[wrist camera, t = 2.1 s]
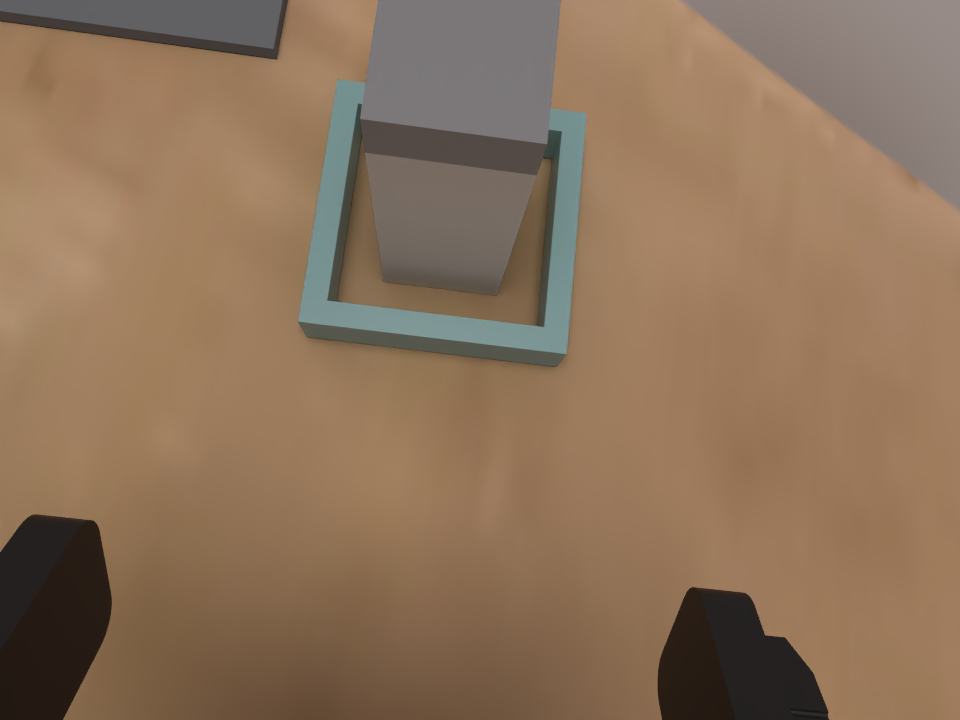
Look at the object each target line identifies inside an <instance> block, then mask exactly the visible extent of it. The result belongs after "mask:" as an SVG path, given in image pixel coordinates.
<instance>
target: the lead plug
mask: <svg viewBox="0 0 960 720" xmlns="http://www.w3.org/2000/svg"><path fill="white" fill-rule="evenodd" d="M560 3H561V0H378V5H377V12H376V18H375V25H374V31H373V38H372V44H371V51H370V57H369V64H368V70H367V77H366V83H365V90H364V96H363V103H362V109H361V116H360V122H361V129H362V136H363V143H364V150H365V157H366V164H367V171H368V178H369V185H370V192H371V199H372V206H373V213H374V220H375V227H376V234H377V241H378V248H379V255H380V262H381V269H382V276H383V282H390V283H398V284H406V285H414V286H422V287H430V288H438V289H446V290H454V291H462V292H470V293H478V294H486V295H494V296H497V294H498V291H499V288H500V285H501V282H502V279H503V276H504V273H505V270H506V267H507V264H508V261H509V258H510V255H511V251H512V248H513V245H514V242H515V239H516V236H517V233H518V230H519V227H520V224H521V221H522V218H523V215H524V212H525V209H526V206H527V203H528V200H529V197H530V194H531V191H532V188H533V185H534V182H535V179H536V176H537V173H538V170H539V167H540V164H541V161H542V158H543V155H544V152H545V149H546V146H547V141H548V130H549V120H550V109H551V98H552V88H553V77H554V67H555V56H556V45H557V35H558V24H559V13H560Z"/></svg>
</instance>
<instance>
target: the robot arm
mask: <svg viewBox="0 0 960 720" xmlns="http://www.w3.org/2000/svg"><path fill="white" fill-rule="evenodd" d="M111 606H112V598H111V591H110V585H109V580H108V574H107V569H106V564H105V558H104V553H103V547H102V542H101V536H100V531H99V528H98V525H97V524H96V523H95V522H94V521H92V520H83V519H74V518H65V517H56V516H46V515H31V516H30V517H28V518H27V519H26V520H25V521H23V523H22V524H21V525H20V526H19V528H18V529H17V530H16V532H15V533H14V534H13V536H12V537H11V539H10V540H9V541H8V543H7V544H6V545H5V547H4V548H3V550H2V551H1V552H0V720H63V718H64V716H65V714H66V712H67V710H68V709H69V707H70V705H71V703H72V701H73V699H74V697H75V695H76V693H77V691H78V689H79V687H80V685H81V683H82V681H83V679H84V677H85V676H86V674H87V672H88V670H89V668H90V666H91V664H92V662H93V660H94V658H95V656H96V654H97V652H98V650H99V648H100V646H101V644H102V642H103V640H104V637H105V634H106V631H107V628H108V624H109V620H110V615H111ZM658 698H659V705H660V710H661V715H662V720H829V719H828V710H827V707H826V705H825V702H824V700H823V697H822V694H821V692H820V689H819V687H818V684H817V682H816V679H815V676H814V674H813V672H812V671H811V670H810V668H809V667H808V666H807V665H806V663H805V662H804V661H803V660H802V658H801V657H800V656H799V655H798V653H797V652H796V651H795V650H794V648H793V647H792V646H791V645H790V643H789V642H788V641H787V640H786V638H784V637H774V636H765V634H764V631H763V628H762V625H761V623H760V620H759V617H758V614H757V611H756V608H755V605H754V603H753V601H752V599H751V598H750V596H749V595H748V594H746V593H741V592H732V591H723V590H714V589H704V588H695V587H692V588H690V589H689V590H688V591H687V593H686V595H685V597H684V599H683V602H682V604H681V607H680V609H679V612H678V614H677V617H676V619H675V622H674V624H673V627H672V629H671V632H670V634H669V637H668V639H667V642H666V644H665V647H664V649H663V652H662V655H661V658H660V662H659V669H658Z"/></svg>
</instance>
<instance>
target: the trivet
mask: <svg viewBox="0 0 960 720" xmlns="http://www.w3.org/2000/svg"><path fill="white" fill-rule="evenodd" d="M286 4H287V0H0V21H7V22H14V23H21V24H28V25H36V26H43V27H50V28H57V29H65V30H72V31H79V32H86V33H93V34H101V35H108V36H115V37H122V38H130V39H137V40H144V41H151V42H159V43H166V44H173V45H180V46H187V47H195V48H202V49H209V50H216V51H224V52H231V53H238V54H245V55H252V56H260V57H267V58H274V59H277V53H278V48H279V42H280V37H281V32H282V26H283V21H284V15H285V10H286Z"/></svg>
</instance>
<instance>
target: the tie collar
mask: <svg viewBox="0 0 960 720" xmlns="http://www.w3.org/2000/svg"><path fill="white" fill-rule="evenodd" d="M364 90H365V83H362V82H354V81H347V80H340V79H338V80H337V86H336V92H335V98H334V104H333V111H332V117H331V123H330V129H329V135H328V141H327V147H326V153H325V159H324V166H323V172H322V178H321V184H320V190H319V196H318V202H317V208H316V215H315V221H314V227H313V233H312V239H311V245H310V251H309V257H308V264H307V270H306V276H305V282H304V288H303V294H302V300H301V306H300V312H299V319H298V322H299V324H300V326H301V328H302V329H303V331H304V333H305V335H306V336H307V337H311V338H319V339H328V340H336V341H344V342H353V343H361V344H369V345H378V346H386V347H394V348H403V349H411V350H419V351H428V352H436V353H444V354H453V355H461V356H469V357H478V358H486V359H494V360H503V361H511V362H519V363H528V364H536V365H544V366H553V367H556V366H557V365H558V364H559V363H560V362H561V360H562V359H563V358H564V357H565V356H566V354H567V344H568V332H569V320H570V308H571V296H572V284H573V272H574V260H575V247H576V235H577V223H578V211H579V199H580V187H581V175H582V163H583V151H584V138H585V126H586V114H587V113H580V112H572V111H565V110H558V109H550V120H549V130H548V141H547V146H546V149H545V152H544V155H543V157H545V158H552V165H551V176H550V187H549V198H548V209H547V219H546V230H545V241H544V252H543V263H542V274H541V284H540V295H539V306H538V317H537V326H530V325H522V324H514V323H506V322H498V321H490V320H482V319H473V318H465V317H457V316H449V315H441V314H433V313H424V312H416V311H408V310H400V309H392V308H384V307H376V306H367V305H359V304H351V303H343V302H336V300H337V294H338V287H339V281H340V274H341V268H342V261H343V254H344V248H345V241H346V235H347V228H348V222H349V215H350V209H351V202H352V196H353V189H354V183H355V176H356V169H357V163H358V156H359V150H360V143H361V137H362V129H361V122H360V116H361V109H362V103H363V96H364Z"/></svg>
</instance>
